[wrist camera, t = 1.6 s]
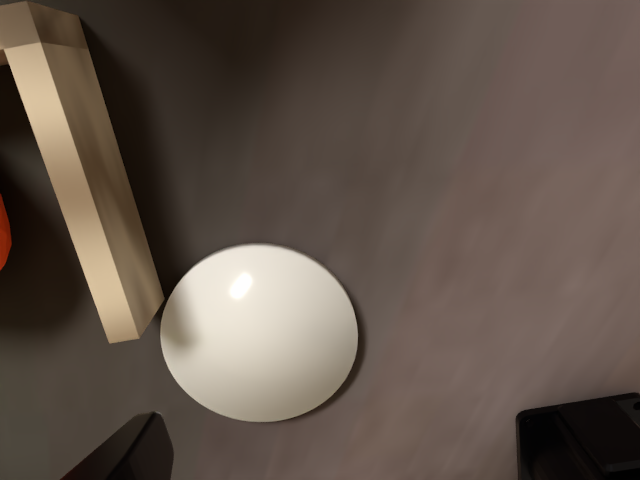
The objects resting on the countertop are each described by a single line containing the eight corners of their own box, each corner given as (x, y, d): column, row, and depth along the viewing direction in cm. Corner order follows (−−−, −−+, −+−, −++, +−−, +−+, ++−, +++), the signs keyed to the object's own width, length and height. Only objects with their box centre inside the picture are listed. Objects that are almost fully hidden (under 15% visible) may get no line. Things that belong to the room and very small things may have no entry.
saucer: (368, 395, 24) (370, 406, 23) (192, 423, 24) (188, 435, 23) (340, 226, 21) (341, 232, 20) (141, 260, 21) (135, 267, 20)
